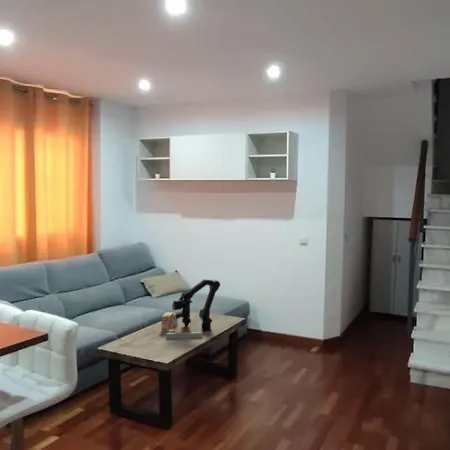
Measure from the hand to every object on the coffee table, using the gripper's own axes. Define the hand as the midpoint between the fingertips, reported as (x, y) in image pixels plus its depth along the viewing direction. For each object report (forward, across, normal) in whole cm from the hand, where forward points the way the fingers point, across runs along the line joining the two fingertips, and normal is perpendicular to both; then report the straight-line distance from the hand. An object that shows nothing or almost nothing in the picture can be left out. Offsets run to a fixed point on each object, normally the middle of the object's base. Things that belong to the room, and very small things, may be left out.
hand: (186, 328), depth 371 cm
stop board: (+3, +13, -2) cm, 13 cm away
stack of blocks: (+3, -13, -12) cm, 18 cm away
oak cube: (+3, +7, -11) cm, 13 cm away
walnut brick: (+3, +6, 0) cm, 7 cm away
